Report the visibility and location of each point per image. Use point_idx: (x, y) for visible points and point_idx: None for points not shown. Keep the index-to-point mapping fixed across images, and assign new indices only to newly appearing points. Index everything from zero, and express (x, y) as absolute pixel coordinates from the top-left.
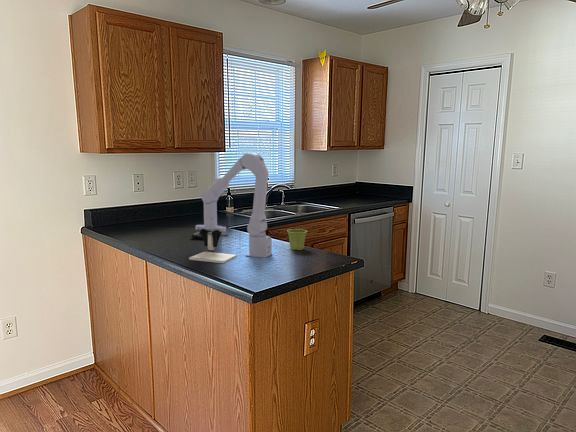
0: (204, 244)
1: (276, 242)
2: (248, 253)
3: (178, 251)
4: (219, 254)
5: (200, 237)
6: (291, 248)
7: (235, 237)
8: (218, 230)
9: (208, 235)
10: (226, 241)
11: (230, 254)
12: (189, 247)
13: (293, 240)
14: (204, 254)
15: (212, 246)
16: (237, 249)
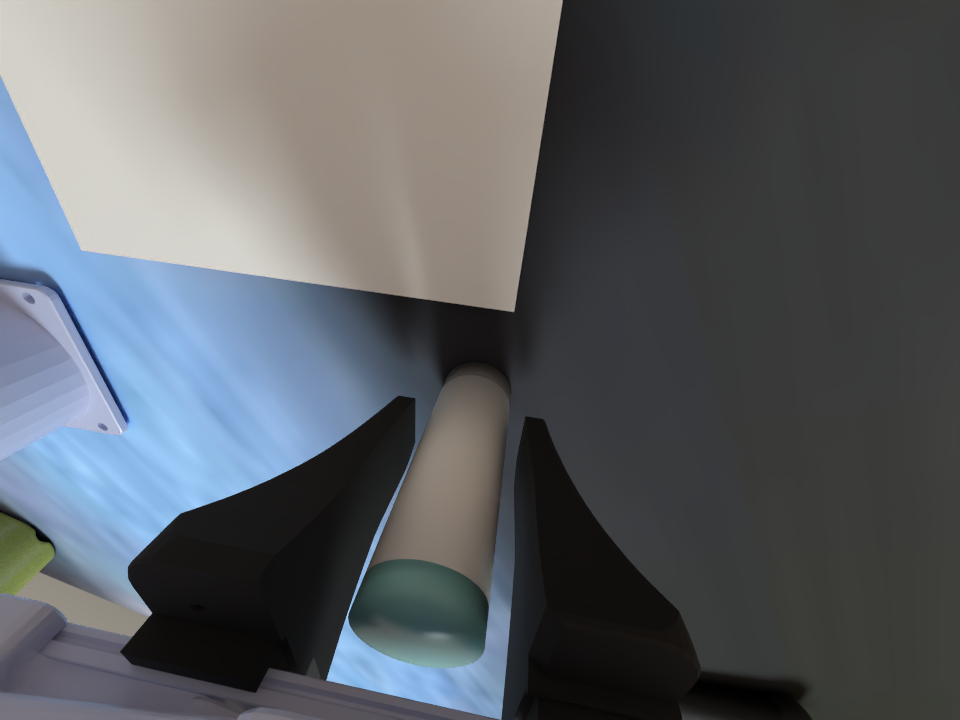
0: (549, 434)
1: None
2: (73, 351)
3: (923, 321)
4: (251, 208)
5: (725, 706)
6: (8, 524)
7: (495, 705)
8: (141, 662)
9: (447, 546)
10: (506, 649)
11: (148, 248)
12: (777, 504)
13: None
14: (434, 139)
15: (433, 410)
16: None
